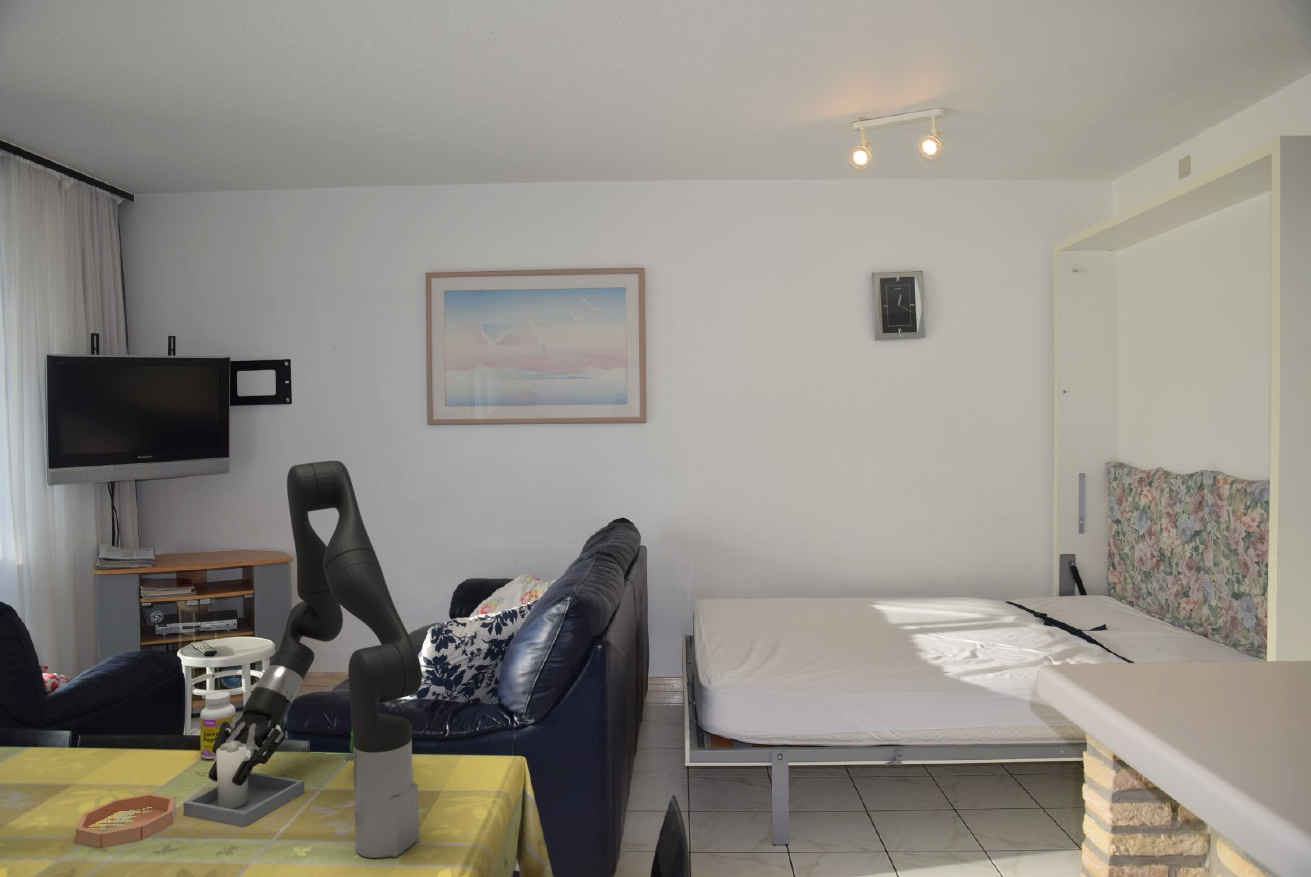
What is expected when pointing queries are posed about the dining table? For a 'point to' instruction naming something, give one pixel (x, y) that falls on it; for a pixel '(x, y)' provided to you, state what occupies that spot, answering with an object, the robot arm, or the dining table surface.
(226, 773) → the pebble jar
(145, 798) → the orange shallow octagonal tray
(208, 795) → the parts tray
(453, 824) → the dining table surface
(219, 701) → the supplement bottle
